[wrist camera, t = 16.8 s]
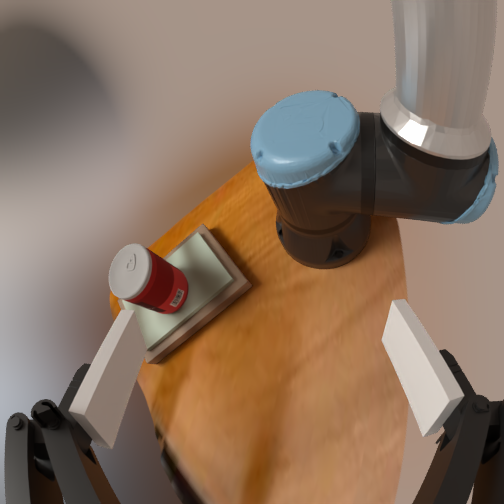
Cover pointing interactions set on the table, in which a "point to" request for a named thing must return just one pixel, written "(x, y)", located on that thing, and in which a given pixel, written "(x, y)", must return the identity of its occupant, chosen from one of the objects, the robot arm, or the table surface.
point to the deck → (192, 294)
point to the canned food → (147, 280)
